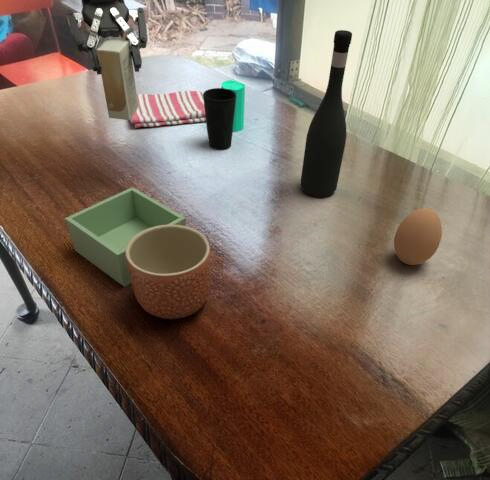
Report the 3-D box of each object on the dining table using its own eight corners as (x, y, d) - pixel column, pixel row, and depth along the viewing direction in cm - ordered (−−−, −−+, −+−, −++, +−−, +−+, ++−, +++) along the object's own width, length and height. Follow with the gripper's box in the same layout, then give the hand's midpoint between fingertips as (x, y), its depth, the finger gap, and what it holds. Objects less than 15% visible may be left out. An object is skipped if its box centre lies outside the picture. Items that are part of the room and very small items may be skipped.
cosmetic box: (118, 105, 93) (107, 37, 84) (139, 107, 93) (130, 39, 83) (107, 119, 88) (95, 48, 79) (129, 121, 88) (119, 51, 79)
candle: (218, 123, 122) (218, 74, 113) (240, 121, 123) (241, 73, 114) (224, 132, 118) (224, 83, 109) (246, 130, 119) (248, 81, 110)
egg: (389, 272, 81) (407, 220, 73) (386, 246, 86) (402, 195, 78) (432, 277, 80) (455, 225, 73) (426, 251, 86) (447, 200, 78)
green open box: (124, 287, 76) (117, 255, 71) (74, 250, 82) (64, 218, 77) (188, 249, 84) (185, 217, 79) (137, 217, 90) (132, 186, 85)
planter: (120, 300, 74) (107, 246, 66) (179, 267, 80) (174, 214, 72) (167, 342, 68) (159, 288, 60) (227, 303, 74) (228, 250, 66)
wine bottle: (309, 176, 104) (332, 23, 82) (341, 186, 101) (373, 30, 79) (293, 191, 99) (313, 33, 77) (326, 202, 96) (356, 41, 74)
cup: (239, 140, 115) (240, 90, 106) (230, 154, 110) (230, 102, 101) (210, 136, 116) (209, 86, 107) (200, 149, 111) (198, 97, 102)
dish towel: (123, 105, 128) (121, 92, 125) (203, 97, 133) (202, 85, 131) (132, 130, 117) (130, 116, 114) (219, 121, 122) (219, 108, 120)
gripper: (52, -39, 76) (76, 63, 78) (138, -40, 80) (158, 57, 82) (58, -8, 84) (79, 84, 85) (136, -10, 87) (155, 78, 89)
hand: (118, 70), depth 83 cm, fingers closed on cosmetic box, 6 cm apart
